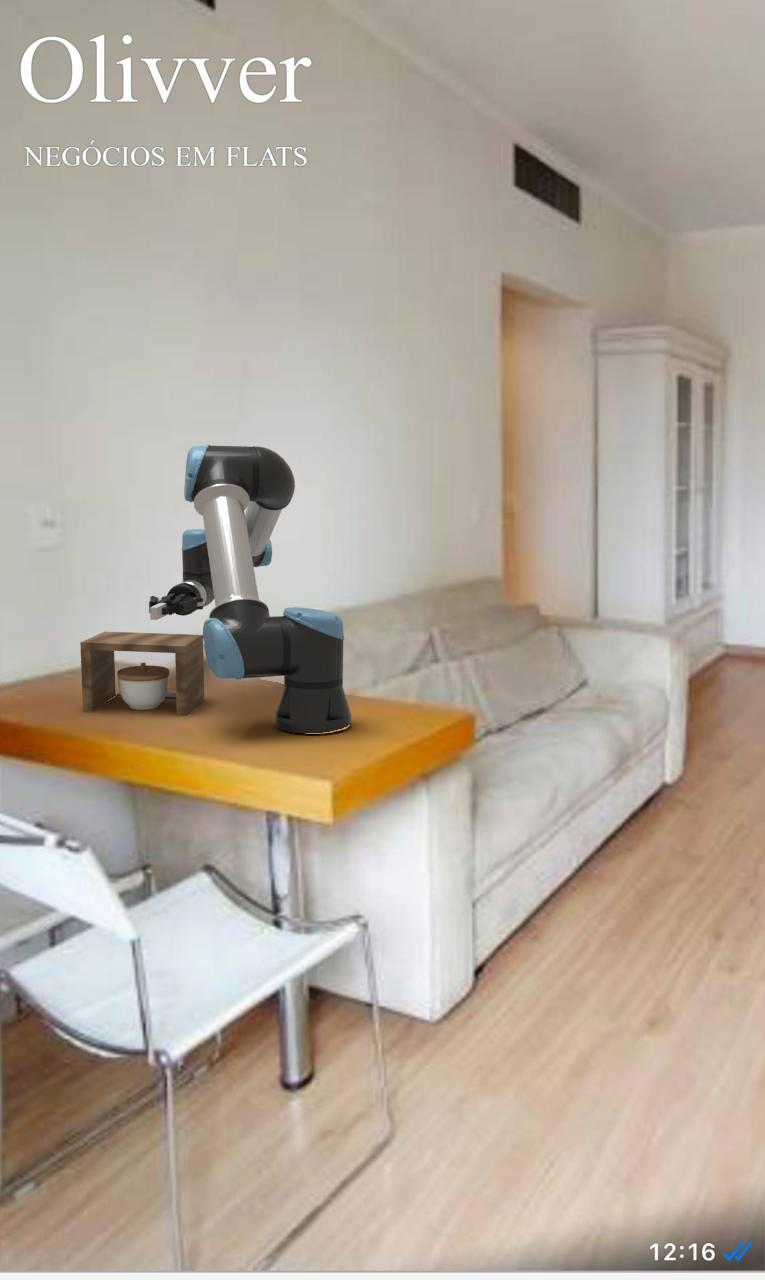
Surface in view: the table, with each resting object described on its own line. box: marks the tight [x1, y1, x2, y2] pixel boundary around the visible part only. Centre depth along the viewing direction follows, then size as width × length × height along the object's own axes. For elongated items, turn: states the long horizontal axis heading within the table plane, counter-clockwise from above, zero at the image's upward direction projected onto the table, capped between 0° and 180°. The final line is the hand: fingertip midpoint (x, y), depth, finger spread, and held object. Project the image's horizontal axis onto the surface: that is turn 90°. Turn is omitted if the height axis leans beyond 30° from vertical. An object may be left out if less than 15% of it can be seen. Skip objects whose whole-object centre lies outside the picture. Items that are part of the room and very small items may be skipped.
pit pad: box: [116, 691, 176, 700], centre depth 213 cm, size 18×4×1 cm, turn 84°
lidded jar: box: [116, 662, 170, 711], centre depth 204 cm, size 11×11×9 cm
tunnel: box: [79, 631, 205, 716], centre depth 204 cm, size 22×13×14 cm, turn 84°
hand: (153, 613), depth 209 cm, fingers closed
